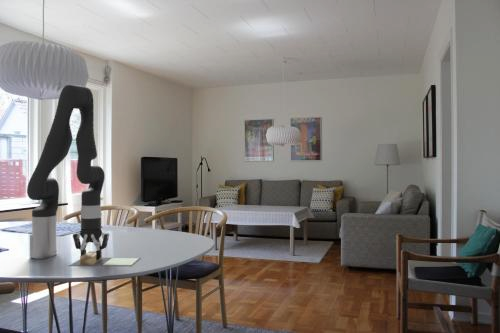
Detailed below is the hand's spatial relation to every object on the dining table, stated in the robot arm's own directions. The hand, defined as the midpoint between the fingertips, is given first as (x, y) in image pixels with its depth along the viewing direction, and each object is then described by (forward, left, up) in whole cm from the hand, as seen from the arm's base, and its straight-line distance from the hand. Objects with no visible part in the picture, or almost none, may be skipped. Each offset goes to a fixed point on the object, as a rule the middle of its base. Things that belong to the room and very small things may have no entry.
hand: (91, 259), depth 164 cm
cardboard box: (0, 0, -1) cm, 1 cm away
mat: (+6, 0, -1) cm, 6 cm away
